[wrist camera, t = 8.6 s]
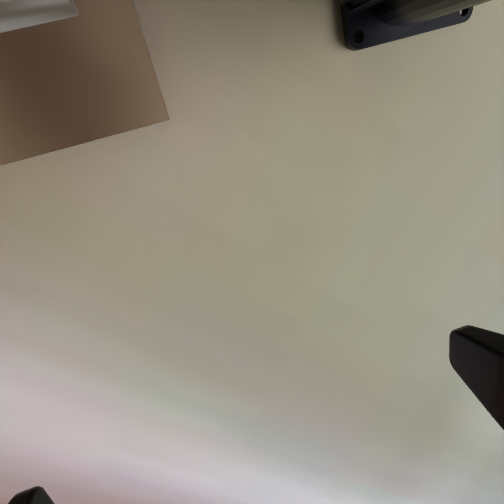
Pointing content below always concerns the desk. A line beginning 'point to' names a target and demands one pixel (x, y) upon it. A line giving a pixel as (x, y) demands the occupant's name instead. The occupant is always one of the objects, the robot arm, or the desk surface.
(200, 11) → the desk surface
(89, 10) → the ridge board
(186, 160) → the desk surface
